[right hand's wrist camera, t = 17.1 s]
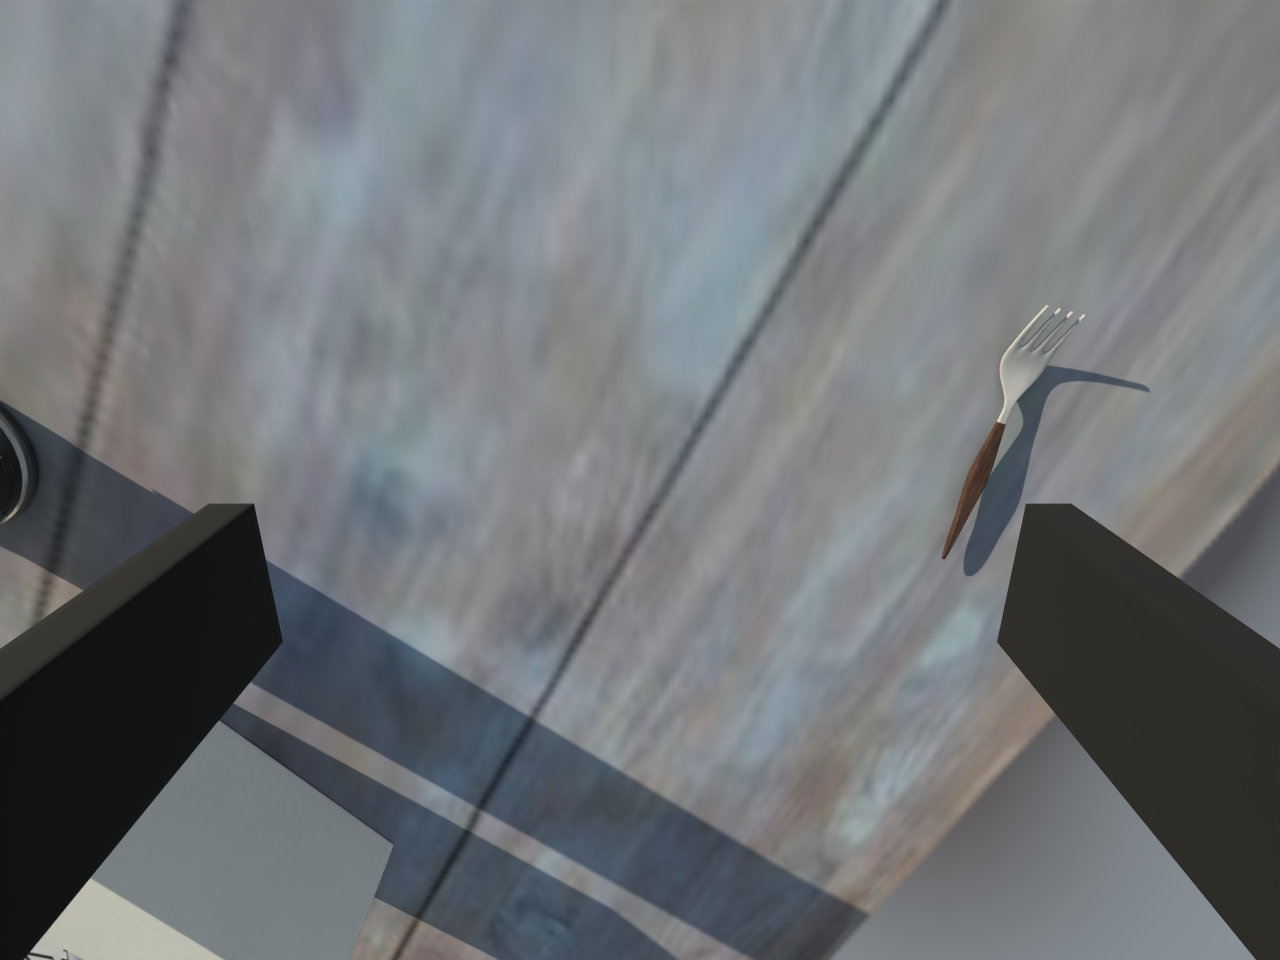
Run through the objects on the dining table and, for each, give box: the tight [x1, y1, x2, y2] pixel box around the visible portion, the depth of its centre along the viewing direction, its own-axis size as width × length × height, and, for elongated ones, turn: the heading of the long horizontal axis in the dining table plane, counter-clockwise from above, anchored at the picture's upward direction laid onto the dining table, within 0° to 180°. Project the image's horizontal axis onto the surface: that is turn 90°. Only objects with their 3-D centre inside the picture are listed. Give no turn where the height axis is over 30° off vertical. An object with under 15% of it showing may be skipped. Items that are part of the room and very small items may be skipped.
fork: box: [942, 305, 1085, 559], centre depth 42 cm, size 3×16×2 cm, turn 167°
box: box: [43, 721, 394, 960], centre depth 46 cm, size 27×6×13 cm, turn 43°
